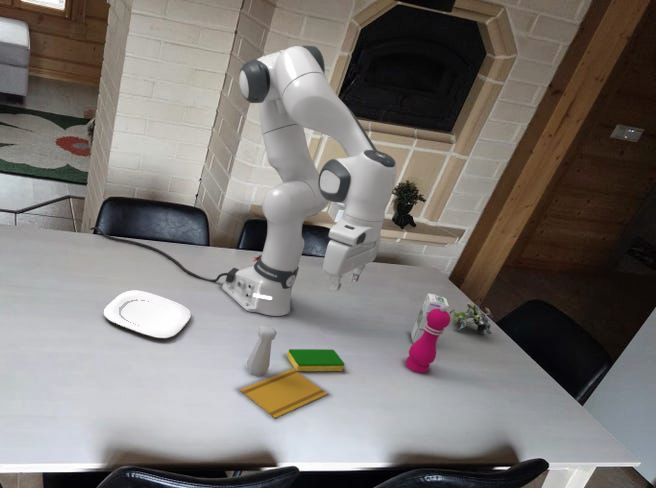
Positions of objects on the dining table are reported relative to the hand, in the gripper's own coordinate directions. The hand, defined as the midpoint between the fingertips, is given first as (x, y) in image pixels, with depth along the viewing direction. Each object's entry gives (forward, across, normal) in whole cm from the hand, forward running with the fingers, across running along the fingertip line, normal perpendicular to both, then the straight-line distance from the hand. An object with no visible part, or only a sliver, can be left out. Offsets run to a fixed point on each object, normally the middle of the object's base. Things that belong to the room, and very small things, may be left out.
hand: (344, 285), depth 150 cm
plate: (+25, +12, -48) cm, 56 cm away
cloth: (+28, +8, -4) cm, 30 cm away
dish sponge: (+28, -10, -6) cm, 31 cm away
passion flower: (+28, -73, +14) cm, 80 cm away
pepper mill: (+29, -36, +12) cm, 48 cm away
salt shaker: (+28, +7, -14) cm, 32 cm away
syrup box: (+28, -52, +7) cm, 59 cm away
